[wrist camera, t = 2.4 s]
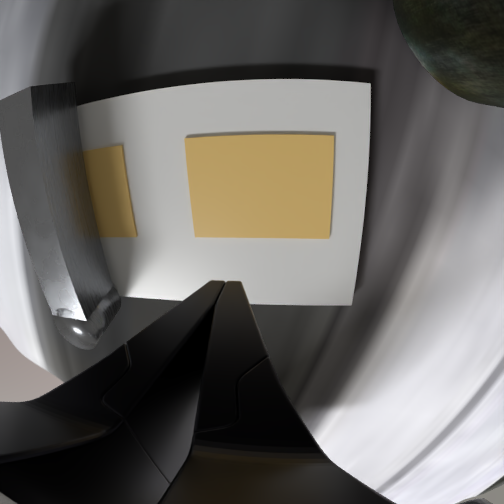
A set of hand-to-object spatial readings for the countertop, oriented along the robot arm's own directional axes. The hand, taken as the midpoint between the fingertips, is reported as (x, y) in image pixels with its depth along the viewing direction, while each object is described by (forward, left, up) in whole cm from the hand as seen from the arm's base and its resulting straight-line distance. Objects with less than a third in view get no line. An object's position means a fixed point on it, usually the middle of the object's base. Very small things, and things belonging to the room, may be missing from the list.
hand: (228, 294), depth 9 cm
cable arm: (-1, +12, -9) cm, 15 cm away
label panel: (-1, +6, -11) cm, 13 cm away
